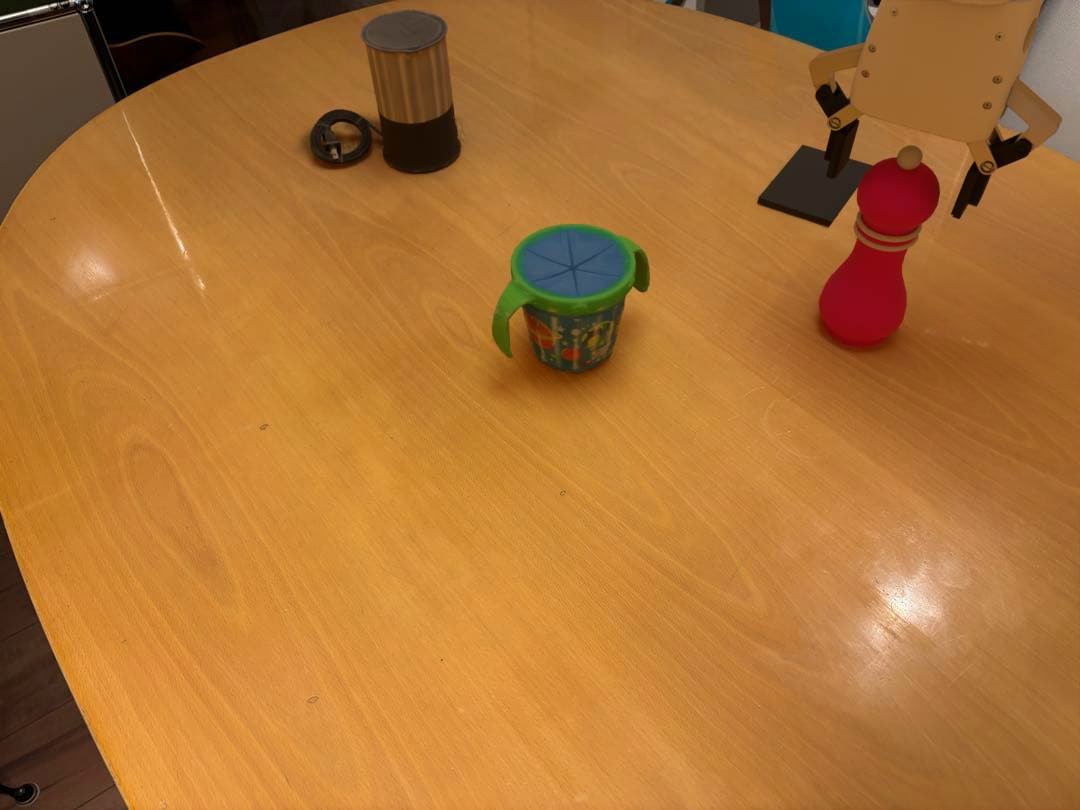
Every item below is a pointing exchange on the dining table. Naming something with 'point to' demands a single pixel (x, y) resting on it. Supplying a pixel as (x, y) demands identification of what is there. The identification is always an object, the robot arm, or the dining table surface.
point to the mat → (812, 187)
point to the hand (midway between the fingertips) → (896, 189)
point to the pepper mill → (880, 250)
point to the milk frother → (402, 96)
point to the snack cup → (570, 293)
